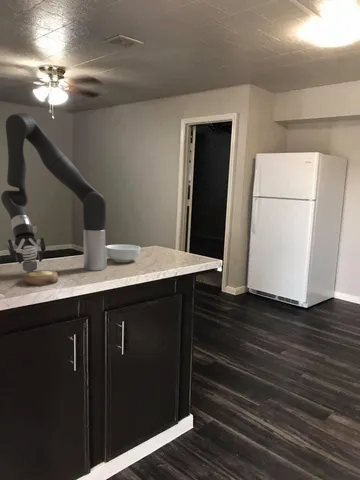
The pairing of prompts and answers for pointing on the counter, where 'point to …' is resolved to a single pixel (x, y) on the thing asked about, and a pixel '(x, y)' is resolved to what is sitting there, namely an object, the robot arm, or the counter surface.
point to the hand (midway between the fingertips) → (30, 261)
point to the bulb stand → (40, 278)
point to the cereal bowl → (123, 252)
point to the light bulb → (29, 265)
